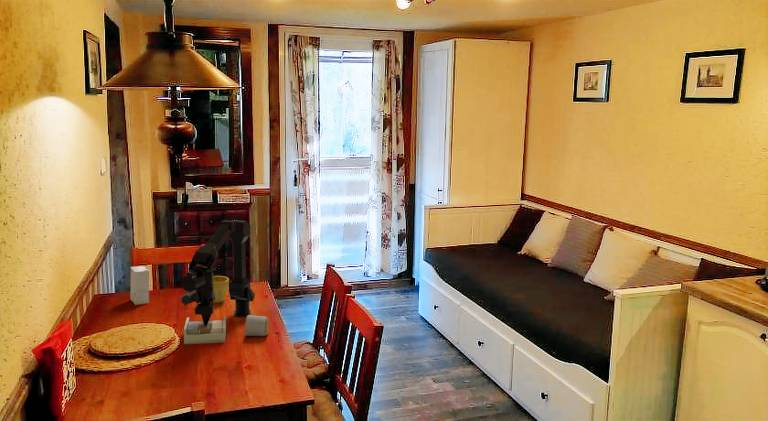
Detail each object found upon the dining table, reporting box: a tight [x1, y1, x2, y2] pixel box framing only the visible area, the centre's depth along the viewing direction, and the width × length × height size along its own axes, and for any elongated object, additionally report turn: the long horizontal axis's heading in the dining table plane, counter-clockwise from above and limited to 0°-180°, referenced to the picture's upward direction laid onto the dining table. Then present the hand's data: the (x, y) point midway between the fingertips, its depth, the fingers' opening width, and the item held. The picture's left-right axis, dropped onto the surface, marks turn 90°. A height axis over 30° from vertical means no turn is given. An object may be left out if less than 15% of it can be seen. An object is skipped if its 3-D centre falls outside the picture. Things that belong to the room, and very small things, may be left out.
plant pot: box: [212, 275, 230, 304], centre depth 262 cm, size 10×10×10 cm
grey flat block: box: [188, 321, 201, 335], centre depth 220 cm, size 8×4×2 cm, turn 13°
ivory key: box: [212, 319, 223, 333], centre depth 222 cm, size 8×4×2 cm, turn 13°
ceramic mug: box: [244, 314, 270, 337], centre depth 226 cm, size 11×8×8 cm
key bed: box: [183, 315, 227, 345], centre depth 221 cm, size 13×14×6 cm
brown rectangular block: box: [200, 320, 212, 334], centre depth 221 cm, size 8×4×2 cm, turn 13°
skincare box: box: [129, 265, 150, 306], centre depth 257 cm, size 8×6×15 cm
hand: (205, 324), depth 221 cm, fingers closed, pressing on brown rectangular block
